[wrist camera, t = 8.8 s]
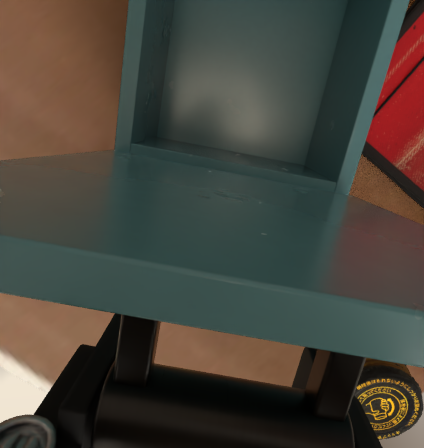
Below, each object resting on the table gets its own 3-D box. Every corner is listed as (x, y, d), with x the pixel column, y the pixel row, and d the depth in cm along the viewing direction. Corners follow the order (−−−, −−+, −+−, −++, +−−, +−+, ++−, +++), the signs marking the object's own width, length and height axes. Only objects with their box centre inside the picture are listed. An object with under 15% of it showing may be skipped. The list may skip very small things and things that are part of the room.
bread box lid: (-280, 185, 4) (-223, 500, 5) (802, 381, 4) (619, 632, 6) (111, 149, 19) (102, 234, 20) (352, 195, 19) (328, 275, 20)
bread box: (172, -60, 23) (144, -163, 15) (362, -21, 24) (441, -99, 15) (146, 145, 28) (113, 156, 19) (309, 176, 28) (347, 200, 20)
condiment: (273, 313, 32) (301, 421, 20) (329, 244, 30) (397, 321, 18) (333, 349, 33) (392, 471, 21) (392, 285, 31) (493, 383, 19)
